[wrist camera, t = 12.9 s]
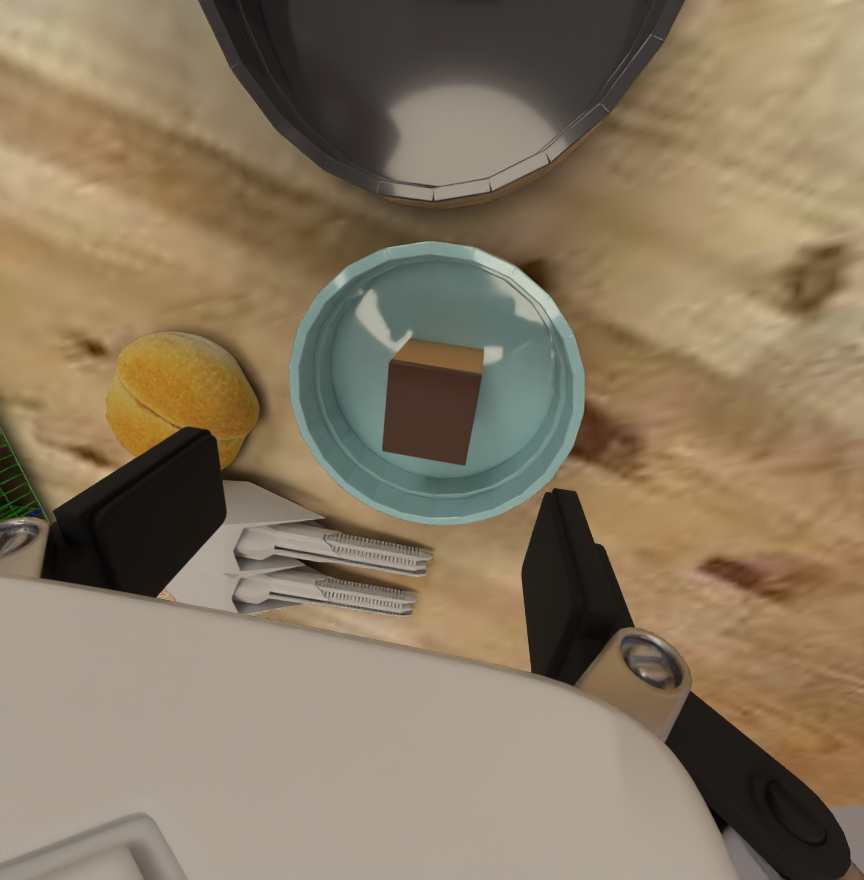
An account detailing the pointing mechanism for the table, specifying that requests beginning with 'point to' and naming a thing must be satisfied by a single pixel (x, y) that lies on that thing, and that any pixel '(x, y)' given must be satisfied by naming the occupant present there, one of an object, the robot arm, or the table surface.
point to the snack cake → (432, 400)
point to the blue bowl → (451, 322)
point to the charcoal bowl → (438, 84)
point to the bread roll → (179, 393)
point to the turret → (288, 561)
